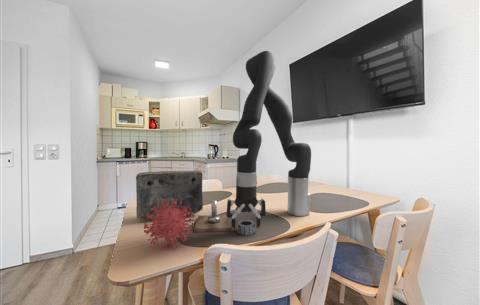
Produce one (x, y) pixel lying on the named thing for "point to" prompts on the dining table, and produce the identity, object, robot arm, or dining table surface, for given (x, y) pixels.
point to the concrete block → (168, 191)
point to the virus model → (169, 223)
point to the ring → (246, 227)
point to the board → (205, 226)
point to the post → (214, 213)
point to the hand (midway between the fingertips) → (245, 227)
